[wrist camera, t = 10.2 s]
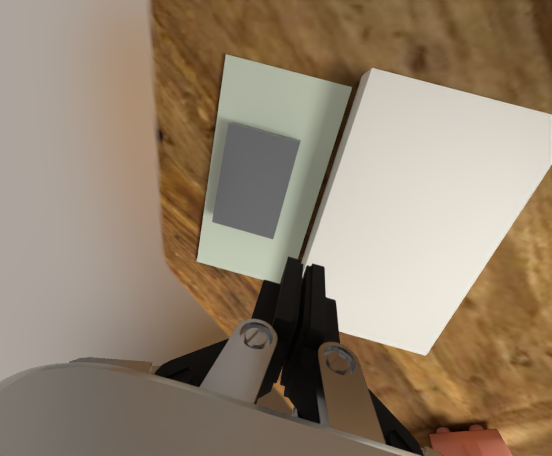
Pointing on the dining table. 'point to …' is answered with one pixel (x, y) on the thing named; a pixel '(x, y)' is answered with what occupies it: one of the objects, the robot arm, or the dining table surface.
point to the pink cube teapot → (469, 442)
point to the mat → (306, 172)
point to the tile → (254, 179)
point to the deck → (420, 203)
